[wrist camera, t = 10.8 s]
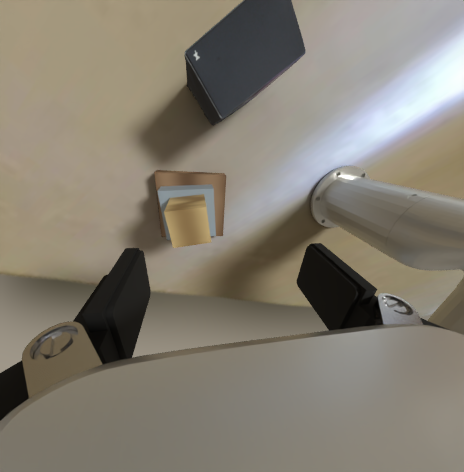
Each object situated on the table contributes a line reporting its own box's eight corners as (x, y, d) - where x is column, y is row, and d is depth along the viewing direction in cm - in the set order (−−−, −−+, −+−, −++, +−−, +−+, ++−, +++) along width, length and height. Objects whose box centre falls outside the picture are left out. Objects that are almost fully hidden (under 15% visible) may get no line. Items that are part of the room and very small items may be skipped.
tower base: (223, 172, 32) (226, 175, 29) (220, 229, 37) (222, 235, 34) (157, 169, 30) (154, 172, 27) (164, 229, 35) (161, 236, 32)
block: (204, 194, 27) (206, 206, 22) (208, 224, 30) (211, 242, 24) (169, 197, 26) (163, 212, 21) (176, 228, 29) (173, 247, 24)
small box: (213, 129, 28) (221, 123, 19) (185, 83, 25) (179, 50, 16) (270, 83, 27) (309, 53, 18) (248, 29, 24) (281, -41, 15)
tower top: (211, 184, 30) (213, 188, 27) (214, 228, 33) (215, 235, 31) (160, 186, 28) (157, 191, 26) (169, 232, 32) (166, 240, 30)
